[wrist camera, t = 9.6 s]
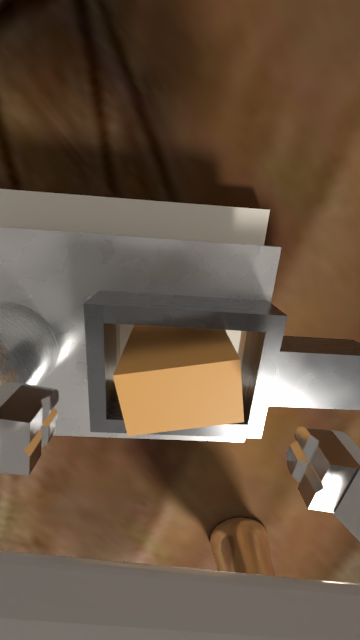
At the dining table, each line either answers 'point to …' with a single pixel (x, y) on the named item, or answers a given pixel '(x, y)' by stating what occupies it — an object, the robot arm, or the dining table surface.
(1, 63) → the dining table surface
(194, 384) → the wedge
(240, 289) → the grey metal fixture
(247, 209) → the board
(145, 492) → the dining table surface
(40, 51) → the dining table surface
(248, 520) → the beer glass
